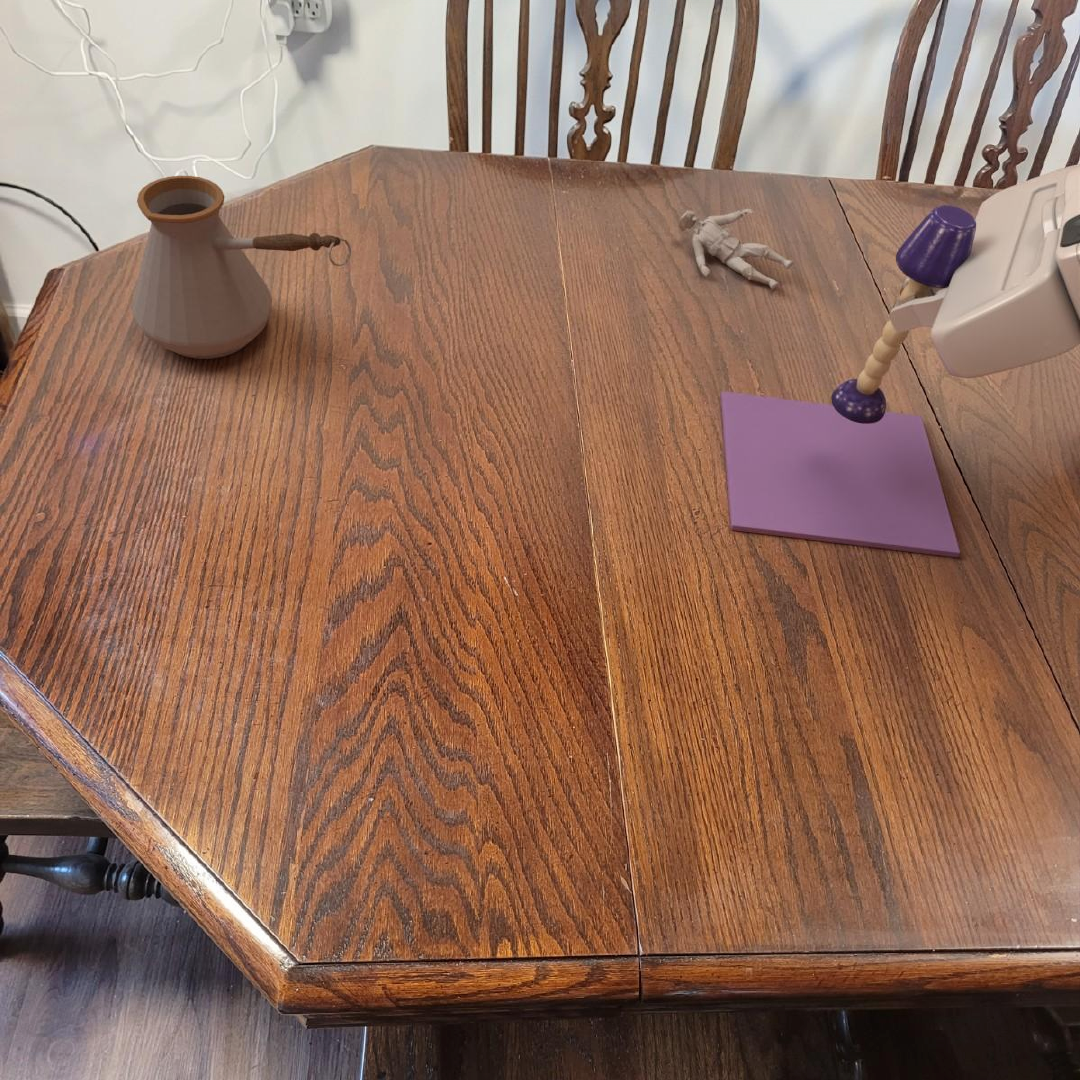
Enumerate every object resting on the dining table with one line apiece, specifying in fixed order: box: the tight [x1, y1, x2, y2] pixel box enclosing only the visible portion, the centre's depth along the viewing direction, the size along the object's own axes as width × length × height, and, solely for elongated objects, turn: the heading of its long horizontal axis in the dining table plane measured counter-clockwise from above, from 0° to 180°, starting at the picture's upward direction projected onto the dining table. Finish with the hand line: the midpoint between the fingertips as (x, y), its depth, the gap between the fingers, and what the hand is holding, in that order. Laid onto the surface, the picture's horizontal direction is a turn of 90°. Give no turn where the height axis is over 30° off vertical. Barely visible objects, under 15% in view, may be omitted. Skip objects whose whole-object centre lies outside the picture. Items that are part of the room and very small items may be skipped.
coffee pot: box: [131, 175, 352, 360], centre depth 76 cm, size 21×12×15 cm, turn 61°
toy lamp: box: [830, 204, 976, 424], centre depth 67 cm, size 5×5×17 cm
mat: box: [720, 390, 961, 558], centre depth 78 cm, size 18×16×1 cm
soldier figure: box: [678, 208, 795, 290], centre depth 96 cm, size 8×5×12 cm
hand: (899, 306), depth 66 cm, fingers closed on toy lamp
